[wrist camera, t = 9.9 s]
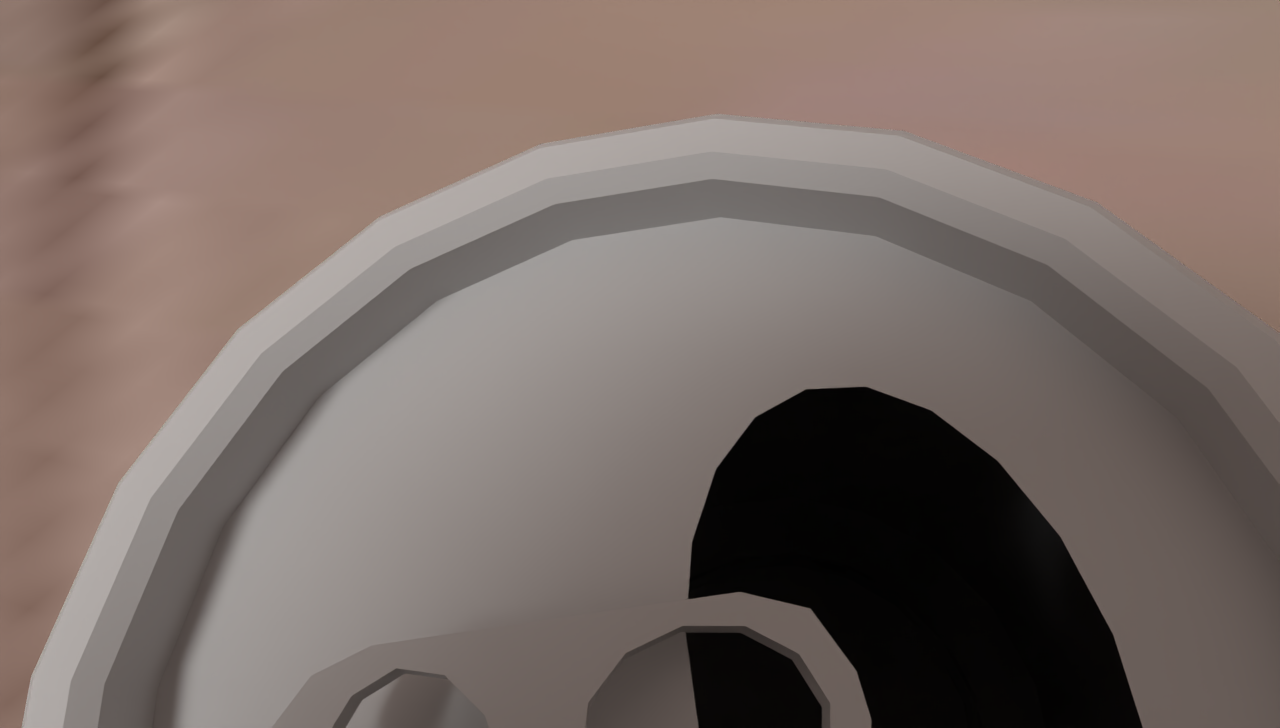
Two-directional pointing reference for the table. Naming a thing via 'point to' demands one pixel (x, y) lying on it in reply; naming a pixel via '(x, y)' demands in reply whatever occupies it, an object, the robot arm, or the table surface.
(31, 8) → the table surface
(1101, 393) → the can
